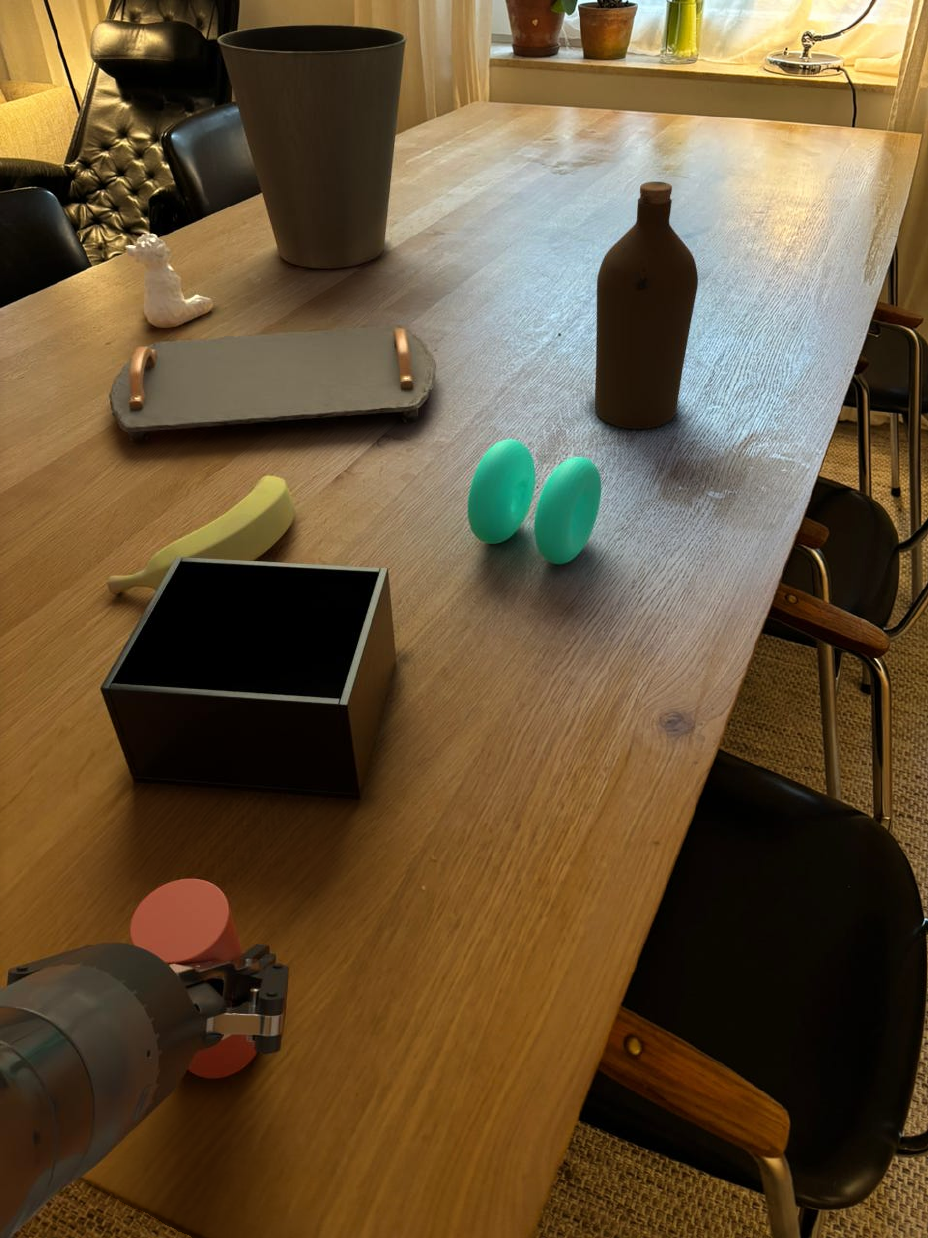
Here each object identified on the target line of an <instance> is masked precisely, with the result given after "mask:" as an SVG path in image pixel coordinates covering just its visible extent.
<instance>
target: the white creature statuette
mask: <svg viewBox="0 0 928 1238" xmlns="http://www.w3.org/2000/svg"><path fill="white" fill-rule="evenodd" d="M124 247H125V249H126V251H127V254H128V256H129V257H130V258H134V261H135V262H136V263H138V264H140V265H141V266H143V267H144V268H145V269H147V270H146V271H145V276H144V277H143V288H144V297H143V302H142V303H143V308H142V311H143V314H144V316H145V318H146V321H147V322H148V323H149V324H151V325H152V326H153V327H156V328H163V329H169V328H175V327H176V328H177V327H178V326H182V325H183V324H184V323H188V322H190V321H192V320H193V319H194V320H195V319H196V318H198V317H200V316H202V315H206V314H207V313H210V310H211V309H212V308H213V305H214V304H213V301H212V299H211V298H210V297H206V296H202V295H200V294H194V295H193V296H191V297H190V298H186V299H185V295H184V294H183V293H182V286H181V283H182V278H181V277H180V275H178V274H177V273H176V271H175V269H174V268H173V266H171V264H170V263H169V262H170V261H171V260H172V257H171V250H170V249H169V248H168V247H167V244H166V243H165V242H164V241H163V239H161V238H159V237H158V235H157V234H154V233H146V234H144V233H143V234H141V236H139V237H137V239H136V242H135V245H125V246H124Z"/></svg>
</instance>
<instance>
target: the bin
mask: <svg viewBox="0 0 928 1238" xmlns="http://www.w3.org/2000/svg"><path fill="white" fill-rule="evenodd" d="M390 585H391V584H390V576H389V568H388V567H372V566H370V567H369V566H354V565H352V566H350V565H337V564H336V565H335V564H315V563H299V562H298V563H295V562H279V561H278V562H277V561H260V560H259V561H257V560H254V561H242V560H224V559H205V558H186V557H183V558H182V557H176V558H175V559H174V561H173V563H172V564H171V566H170V568H169V570H168V571H167V573H166V575H165V577H164V578H163V580H162V582H161V584H160V585H159V587H158V589H157V590H155V592H154V594H153V595H152V597H151V599H150V601H149V602H148V605H147V606H146V608H145V609H144V611H143V613H142V615H141V617H140V618H139V619H138V621H137V623H136V625H135V627H134V629H133V631H132V632H131V634H130V635H129V637H128V639H127V641H126V643H125V644H124V646H123V648H122V649H121V651H120V652H119V655H118V656H117V658H116V660H115V661H114V663H113V665H112V666H111V668H110V670H109V672H108V673H107V676H105V678H104V681H102V683H101V686H100V687H99V690H100V693H101V696H102V698H103V700H104V703H105V706H106V709H107V712H108V715H109V718H110V721H111V723H112V726H113V729H114V731H115V734H116V737H117V740H118V743H119V746H120V748H121V751H122V754H123V757H124V759H125V762H126V765H127V768H128V771H129V773H130V776H131V779H132V782H133V783H146V784H158V785H169V786H170V785H171V786H185V787H195V788H196V787H197V788H209V789H223V790H224V789H225V790H235V791H236V790H237V791H248V792H260V793H261V792H262V793H272V794H273V793H274V794H286V795H298V796H310V797H323V798H336V799H347V800H361V799H362V796H363V792H364V788H365V783H366V779H367V777H368V771H369V769H370V765H371V759H372V756H373V752H374V748H375V744H376V740H377V736H378V732H379V729H380V725H381V722H382V717H383V713H384V709H385V705H386V701H387V698H388V693H389V690H390V686H391V681H392V678H393V674H394V670H395V667H396V662H397V652H396V642H395V630H394V619H393V609H392V596H391V586H390Z"/></svg>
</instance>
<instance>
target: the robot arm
mask: <svg viewBox="0 0 928 1238" xmlns="http://www.w3.org/2000/svg"><path fill="white" fill-rule="evenodd" d="M270 952H271V947H270V945H269V944H260V943H256V944H254V945H253V946H252V947H250V948H249V949H247V951H245V952H243V955H241V956H240V957H239V958H238V960H234V961H231V962H229V961H225V960H220V959H216V958H214V959H209V960H204V961H199V962H195V963H192V964H188V965H185V966H182V965H178V964H171V965H168V964H167V963H166V962H165V961H164V960H162V959H161V958H160V957H158V956H157V955H155V954H154V953H152V952H150V951H148V950H146V949H143V948H141V947H138V946H135V945H132V943H131V944H130V943H124V942H103V943H97V944H87V945H84V946H81V947H77V948H74V949H71V950H68V951H63V952H61V953H57V954H54V955H51V956H48V957H44V958H42V959H38V960H35V961H34V960H33V961H31V962H28V963H23V964H21V965H18V966H17V965H16V966H14V967H12V968H11V967H10V968H9V969H8V971H7V981H6V986H4V987H3V988H1V989H0V1238H12V1237H13V1235H15V1234H16V1233H17V1232H19V1231H20V1230H21V1229H22V1227H24V1226H25V1225H26V1224H27V1223H28V1222H29V1221H30V1220H31V1219H32V1218H34V1216H35V1215H36V1214H37V1213H38V1212H40V1211H41V1210H42V1208H44V1207H45V1206H46V1205H47V1204H48V1203H49V1202H50V1201H51V1200H52V1199H54V1197H55V1196H56V1195H57V1194H58V1193H59V1192H61V1190H63V1189H65V1188H66V1187H67V1186H69V1185H71V1184H72V1183H74V1182H75V1181H77V1180H79V1179H80V1178H81V1177H83V1176H85V1175H86V1174H87V1173H89V1172H90V1171H91V1170H92V1169H93V1168H95V1167H96V1166H97V1165H98V1164H99V1163H101V1162H102V1161H103V1160H104V1159H105V1158H106V1157H107V1156H108V1155H109V1154H110V1153H111V1152H113V1150H114V1149H115V1148H117V1146H118V1145H119V1144H120V1143H122V1141H123V1140H124V1139H125V1138H126V1137H128V1136H129V1135H130V1134H131V1133H132V1132H133V1131H134V1130H135V1129H136V1128H137V1127H138V1126H139V1125H140V1124H141V1123H142V1122H143V1121H144V1120H145V1119H146V1118H147V1117H148V1116H149V1115H150V1114H151V1113H152V1112H153V1111H155V1109H156V1108H158V1107H159V1106H160V1105H161V1104H162V1103H163V1102H164V1101H165V1100H166V1099H167V1098H168V1097H169V1096H170V1095H171V1094H172V1093H173V1091H174V1090H175V1089H177V1088H176V1087H177V1086H178V1085H179V1083H180V1082H181V1081H182V1079H183V1078H184V1076H185V1074H186V1073H187V1070H188V1067H189V1065H190V1063H191V1062H192V1060H193V1058H194V1056H195V1054H196V1053H197V1052H199V1051H201V1050H204V1049H207V1048H211V1047H213V1046H215V1045H217V1044H218V1043H219V1042H220V1041H221V1040H222V1038H223V1036H224V1034H237V1035H247V1036H246V1040H247V1041H248V1042H255V1044H254V1050H255V1051H257V1053H261V1054H264V1055H269V1054H275V1053H278V1052H279V1051H281V1048H282V1043H283V1041H282V1040H283V1034H284V1028H285V1021H286V1014H287V1013H286V1012H287V1002H288V1001H287V1000H288V999H287V998H288V989H289V977H290V967H289V966H288V965H285V964H283V963H280V962H279V963H277V955H276V953H270ZM233 984H234V989H233ZM232 992H233V998H232Z"/></svg>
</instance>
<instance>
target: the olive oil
mask: <svg viewBox="0 0 928 1238" xmlns="http://www.w3.org/2000/svg"><path fill="white" fill-rule="evenodd" d="M672 191H673V186H672V185H671V184H669V183H668V182H664V181H647V182H644V183H642V184H641V185H640V186H639V197H638V199H637V206H636V207H637V209H636V222H635V223H634V225H633V226H632V227H631V228H630V229H629V230H628V231H626V233H624V234H623V236H622V237H620V238H619V240H617V242H615V243H614V244H613V245H612V246H611V248H609V250H608V251H607V252H606V254H605V256H604V258H603V259H602V262H601V264H600V266H599V270H598V273H597V279H596V337H595V339H596V344H595V386H594V411H595V413H596V415H597V416H598V417H599V418H600V419H601V420H602V421H603V422H605V423H607V424H610V425H612V426H615V427H618V428H622V429H630V430H647V429H654V428H658V427H661V426H664V425H665V424H667V423H669V422H671V421H672V420H673V419H674V418H675V416H676V413H677V408H678V403H679V402H678V401H679V395H680V388H681V381H682V376H683V369H684V364H685V359H686V352H687V346H688V341H689V335H690V331H691V330H690V329H691V325H692V318H693V314H694V308H695V303H696V297H697V291H698V286H699V275H698V268H697V263H696V260H695V256H694V255H693V253H692V252H691V251H690V248H689V247H687V245H686V244H685V242H683V240H682V239H681V238H680V236H679V235H678V234H677V232H675V230H674V229H673V227H672V226H671V224H670V217H671V210H672V202H673V201H672V199H671V195H672Z"/></svg>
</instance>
